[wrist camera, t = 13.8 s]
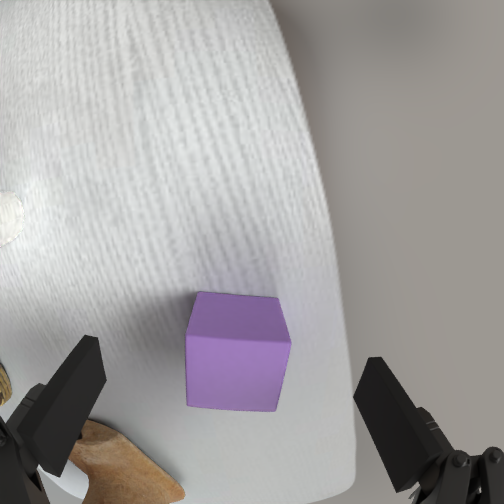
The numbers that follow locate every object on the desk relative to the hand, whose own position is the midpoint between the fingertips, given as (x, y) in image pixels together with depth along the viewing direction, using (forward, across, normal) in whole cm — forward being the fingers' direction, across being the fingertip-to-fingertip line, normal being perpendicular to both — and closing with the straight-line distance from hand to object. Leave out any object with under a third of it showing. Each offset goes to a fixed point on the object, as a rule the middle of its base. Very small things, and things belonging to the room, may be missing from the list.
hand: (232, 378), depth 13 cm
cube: (+4, 0, 0) cm, 4 cm away
